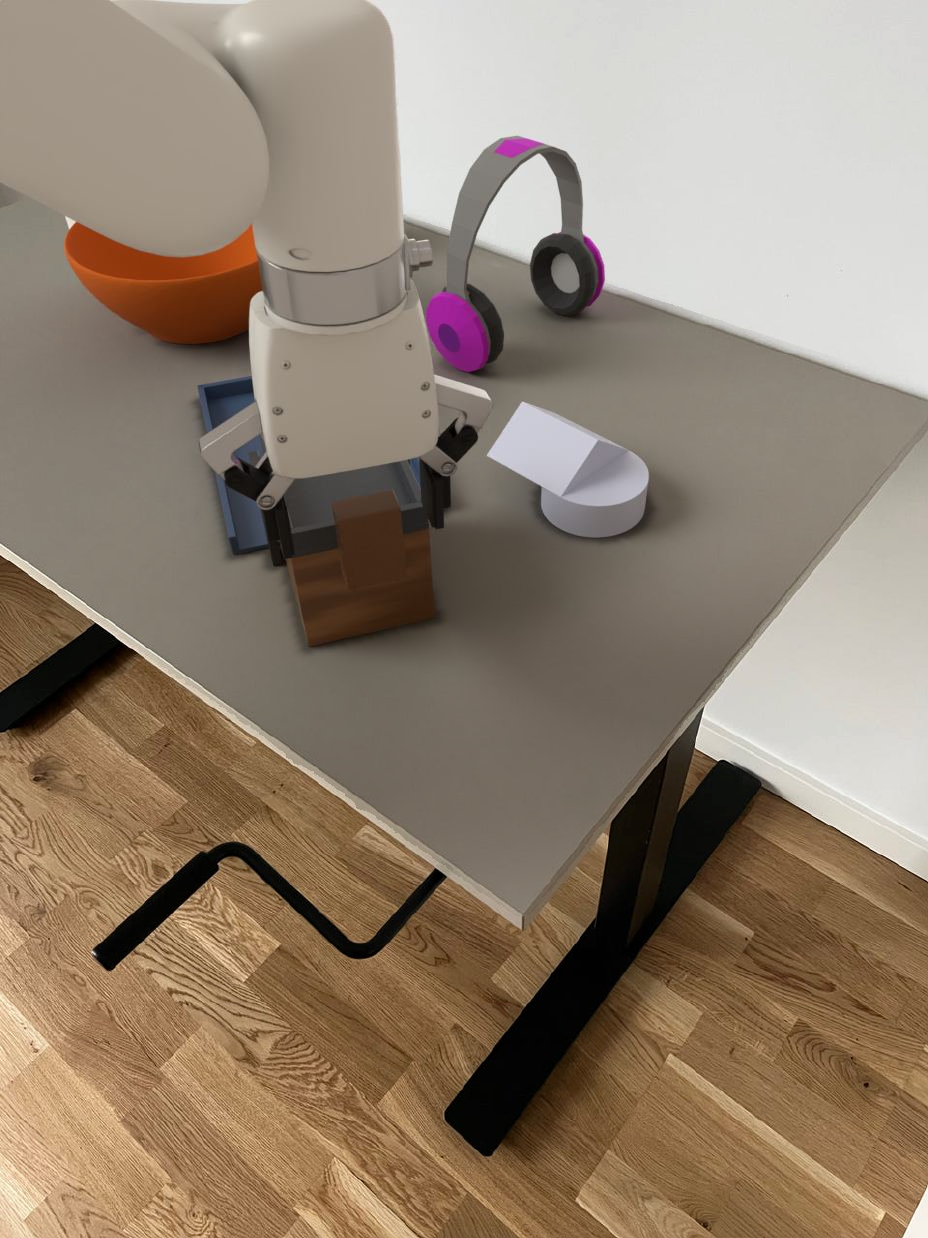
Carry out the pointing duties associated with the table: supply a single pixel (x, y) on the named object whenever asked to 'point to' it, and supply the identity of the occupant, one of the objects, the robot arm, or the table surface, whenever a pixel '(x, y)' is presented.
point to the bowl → (169, 285)
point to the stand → (357, 591)
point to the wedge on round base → (574, 472)
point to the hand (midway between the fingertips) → (360, 530)
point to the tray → (237, 508)
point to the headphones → (558, 263)
